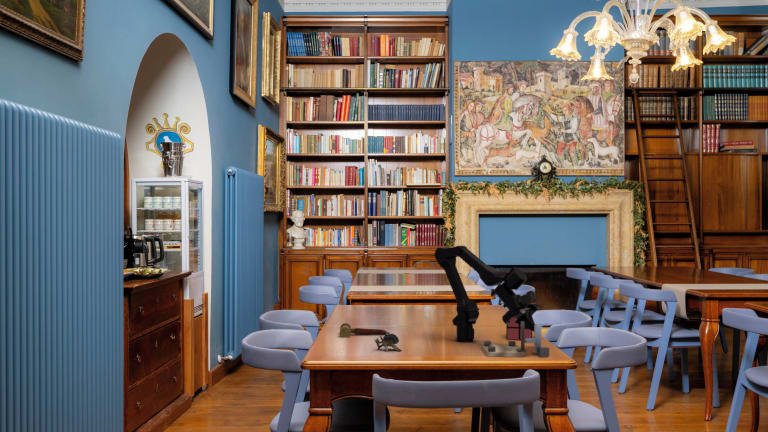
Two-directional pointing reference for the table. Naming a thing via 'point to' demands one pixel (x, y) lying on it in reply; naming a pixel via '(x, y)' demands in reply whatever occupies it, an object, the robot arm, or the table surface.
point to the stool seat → (505, 347)
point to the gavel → (359, 331)
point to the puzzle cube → (516, 331)
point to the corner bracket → (542, 351)
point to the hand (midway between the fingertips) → (536, 331)
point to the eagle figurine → (388, 342)
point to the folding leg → (535, 338)
